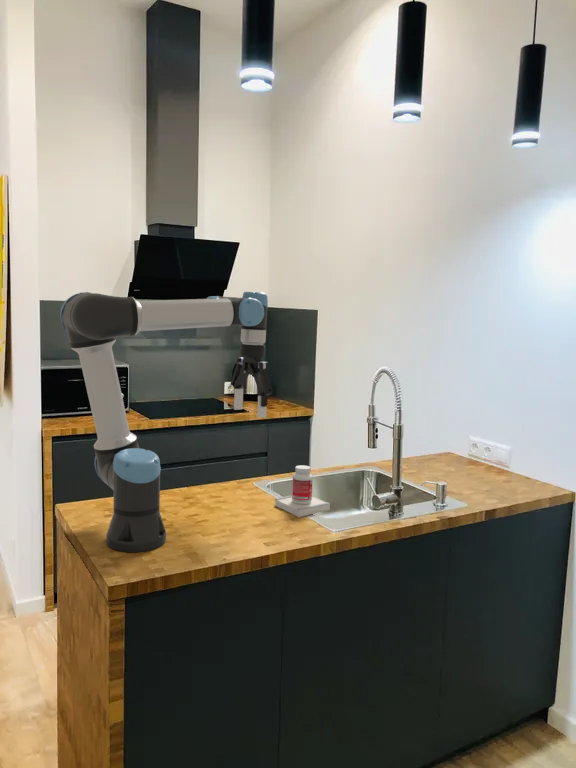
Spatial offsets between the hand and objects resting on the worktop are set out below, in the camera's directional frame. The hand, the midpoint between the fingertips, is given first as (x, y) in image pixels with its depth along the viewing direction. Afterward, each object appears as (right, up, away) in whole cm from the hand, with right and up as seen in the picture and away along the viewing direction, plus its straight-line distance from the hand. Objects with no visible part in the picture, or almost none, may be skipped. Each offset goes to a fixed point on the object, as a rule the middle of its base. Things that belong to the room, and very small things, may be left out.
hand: (249, 413), depth 194 cm
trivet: (+16, -30, +3) cm, 34 cm away
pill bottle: (+16, -28, +3) cm, 32 cm away
